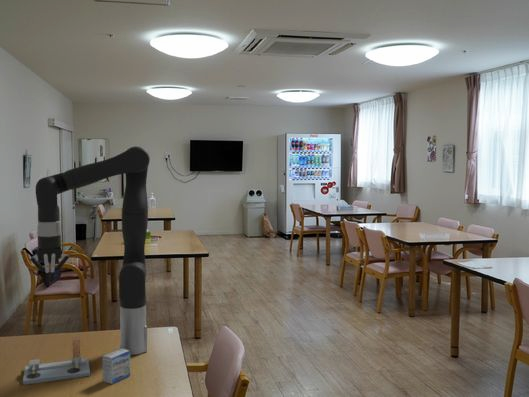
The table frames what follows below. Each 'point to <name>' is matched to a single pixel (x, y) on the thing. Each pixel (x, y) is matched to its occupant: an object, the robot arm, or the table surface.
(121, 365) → the medicine box
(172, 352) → the table surface
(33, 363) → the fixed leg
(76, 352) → the sliding leg
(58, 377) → the bolt plate
